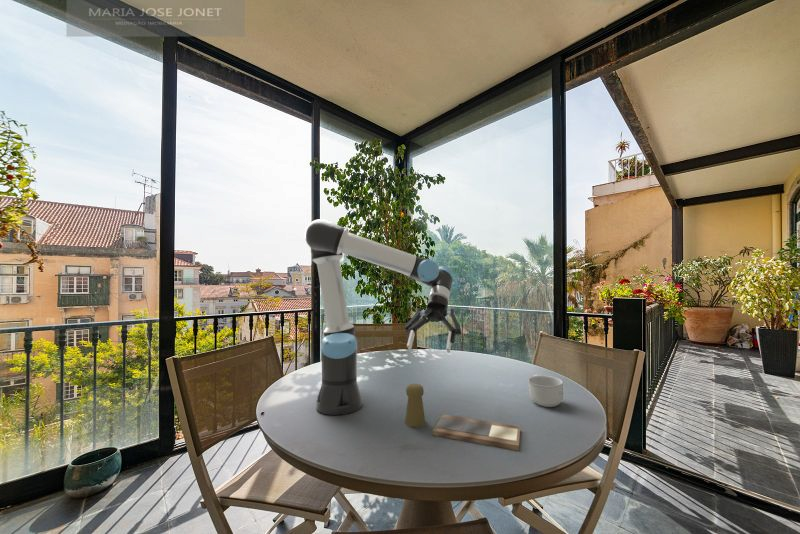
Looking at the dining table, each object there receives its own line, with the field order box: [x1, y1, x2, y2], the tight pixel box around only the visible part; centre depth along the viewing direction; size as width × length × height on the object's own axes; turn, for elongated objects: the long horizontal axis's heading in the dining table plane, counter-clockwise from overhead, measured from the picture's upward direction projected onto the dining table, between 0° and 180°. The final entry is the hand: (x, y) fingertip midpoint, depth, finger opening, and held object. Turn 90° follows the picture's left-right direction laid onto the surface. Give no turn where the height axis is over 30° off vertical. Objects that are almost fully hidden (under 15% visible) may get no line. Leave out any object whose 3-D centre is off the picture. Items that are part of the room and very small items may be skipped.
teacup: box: [527, 374, 564, 408], centre depth 109 cm, size 14×11×8 cm
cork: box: [404, 383, 426, 428], centre depth 95 cm, size 6×6×11 cm
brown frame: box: [432, 414, 521, 451], centre depth 88 cm, size 22×11×1 cm, turn 68°
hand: (427, 349), depth 106 cm, fingers open, 13 cm apart
